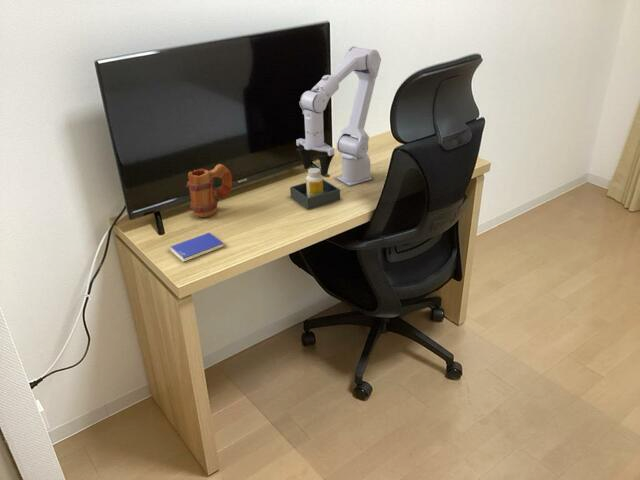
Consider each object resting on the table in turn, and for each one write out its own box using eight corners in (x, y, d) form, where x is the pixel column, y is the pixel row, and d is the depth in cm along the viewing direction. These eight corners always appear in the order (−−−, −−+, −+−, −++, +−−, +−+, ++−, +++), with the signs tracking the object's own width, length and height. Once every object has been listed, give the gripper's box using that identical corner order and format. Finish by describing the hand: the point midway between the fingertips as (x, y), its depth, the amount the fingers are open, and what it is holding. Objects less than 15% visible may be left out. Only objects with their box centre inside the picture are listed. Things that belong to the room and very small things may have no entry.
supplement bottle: (303, 196, 189) (302, 169, 185) (316, 192, 192) (315, 165, 188) (314, 202, 186) (312, 174, 181) (326, 197, 189) (325, 170, 184)
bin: (321, 188, 196) (321, 178, 194) (340, 199, 188) (340, 189, 186) (290, 197, 191) (290, 187, 189) (308, 209, 182) (307, 199, 181)
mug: (194, 222, 177) (187, 177, 170) (186, 212, 184) (179, 168, 176) (239, 211, 183) (234, 167, 175) (230, 201, 189) (225, 158, 182)
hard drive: (183, 257, 156) (222, 242, 163) (169, 245, 162) (208, 231, 169) (183, 262, 157) (223, 247, 164) (170, 250, 163) (209, 236, 169)
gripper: (288, 129, 180) (291, 169, 187) (322, 139, 171) (324, 180, 178) (304, 123, 185) (306, 162, 191) (338, 132, 176) (339, 173, 183)
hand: (315, 171), depth 185 cm, fingers open, 7 cm apart
